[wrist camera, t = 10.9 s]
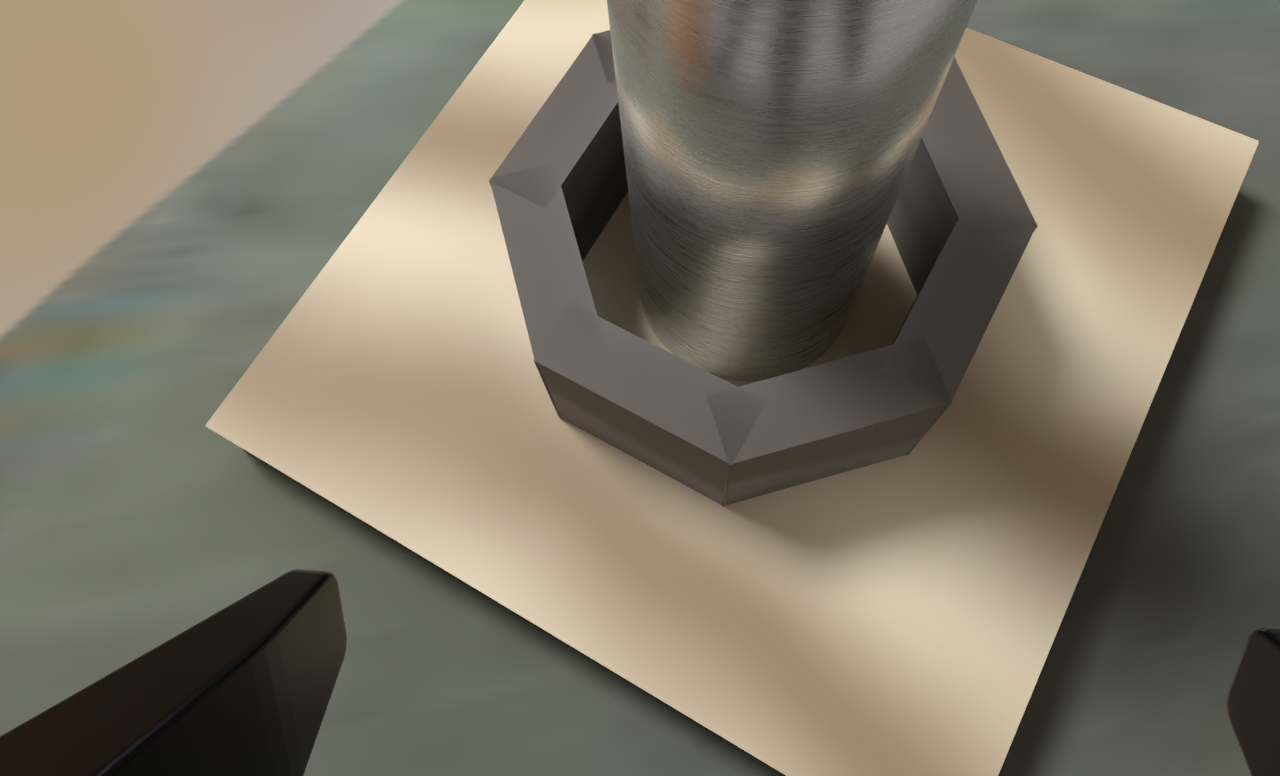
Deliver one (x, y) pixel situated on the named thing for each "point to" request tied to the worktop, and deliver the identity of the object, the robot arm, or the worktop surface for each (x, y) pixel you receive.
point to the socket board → (759, 400)
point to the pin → (768, 161)
